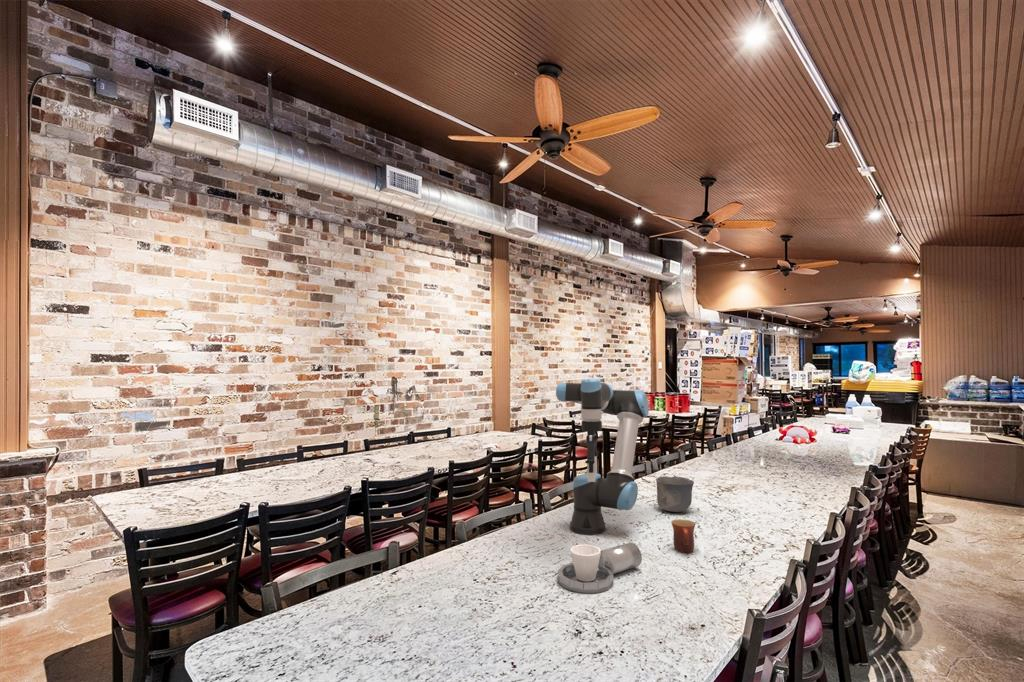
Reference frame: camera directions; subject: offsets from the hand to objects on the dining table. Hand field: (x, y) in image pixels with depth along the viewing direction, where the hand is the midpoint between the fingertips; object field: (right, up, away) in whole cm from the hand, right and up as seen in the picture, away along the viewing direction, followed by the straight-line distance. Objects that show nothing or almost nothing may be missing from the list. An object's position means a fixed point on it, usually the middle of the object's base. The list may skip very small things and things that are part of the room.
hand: (592, 477), depth 187 cm
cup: (-6, -27, -23) cm, 36 cm away
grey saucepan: (-1, -28, -20) cm, 34 cm away
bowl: (+48, -31, +53) cm, 78 cm away
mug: (+35, -29, +2) cm, 45 cm away
